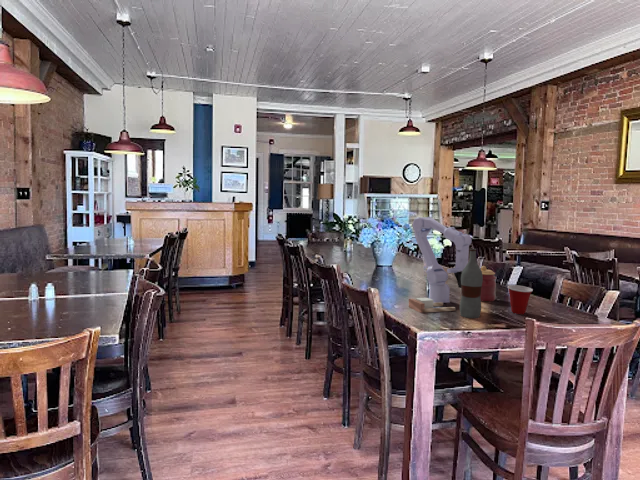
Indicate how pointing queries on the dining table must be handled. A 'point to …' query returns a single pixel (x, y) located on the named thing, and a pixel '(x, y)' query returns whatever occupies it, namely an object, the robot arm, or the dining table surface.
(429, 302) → the keeper block
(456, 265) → the robot arm
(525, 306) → the plastic cup
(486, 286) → the canister
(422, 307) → the keeper channel
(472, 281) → the bottle
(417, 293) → the dining table surface
